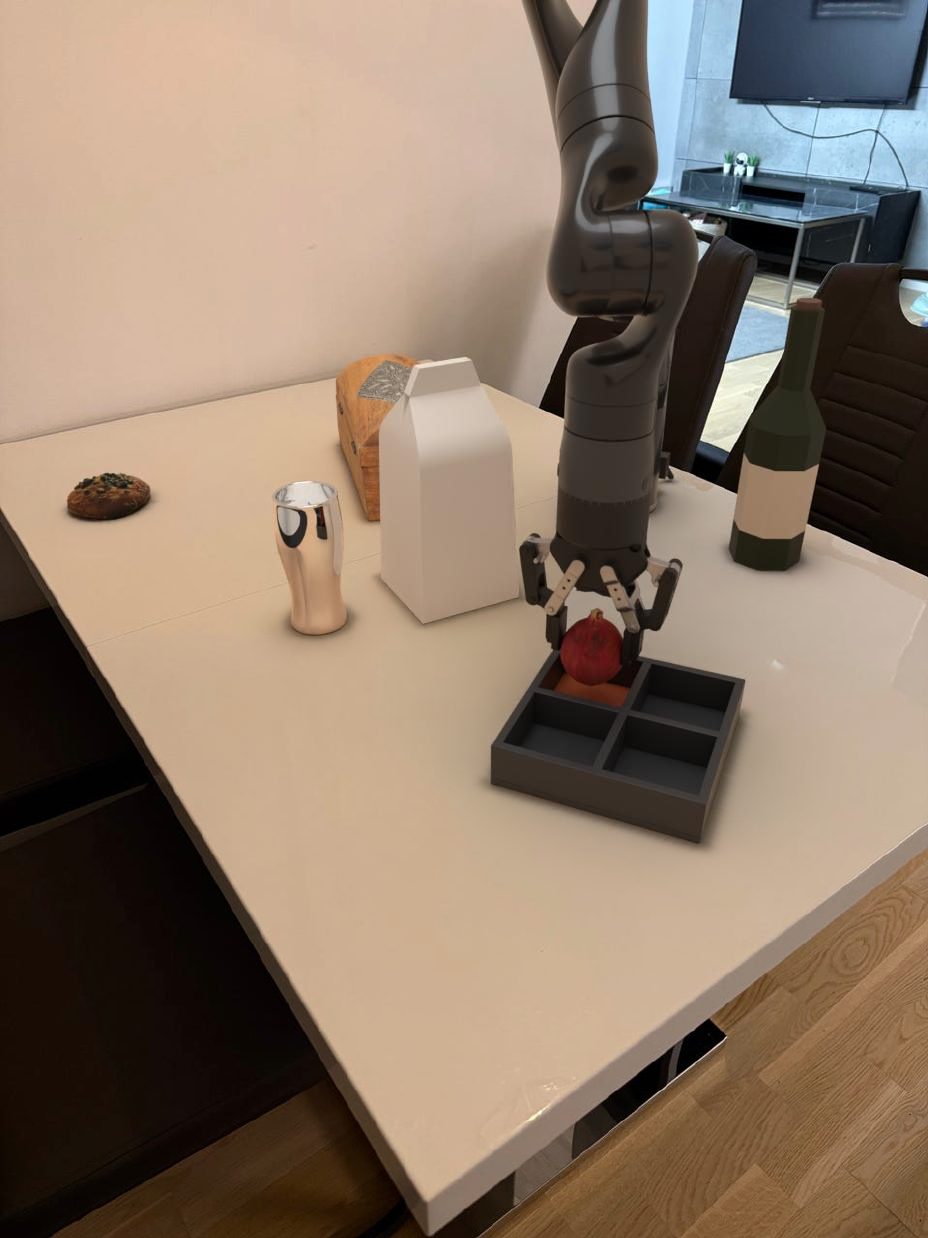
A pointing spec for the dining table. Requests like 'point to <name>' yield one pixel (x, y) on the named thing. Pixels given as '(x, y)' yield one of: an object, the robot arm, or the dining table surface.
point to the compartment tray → (623, 743)
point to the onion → (592, 650)
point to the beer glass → (311, 553)
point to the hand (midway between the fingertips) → (592, 652)
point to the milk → (447, 495)
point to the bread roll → (108, 496)
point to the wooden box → (368, 417)
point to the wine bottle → (782, 454)
